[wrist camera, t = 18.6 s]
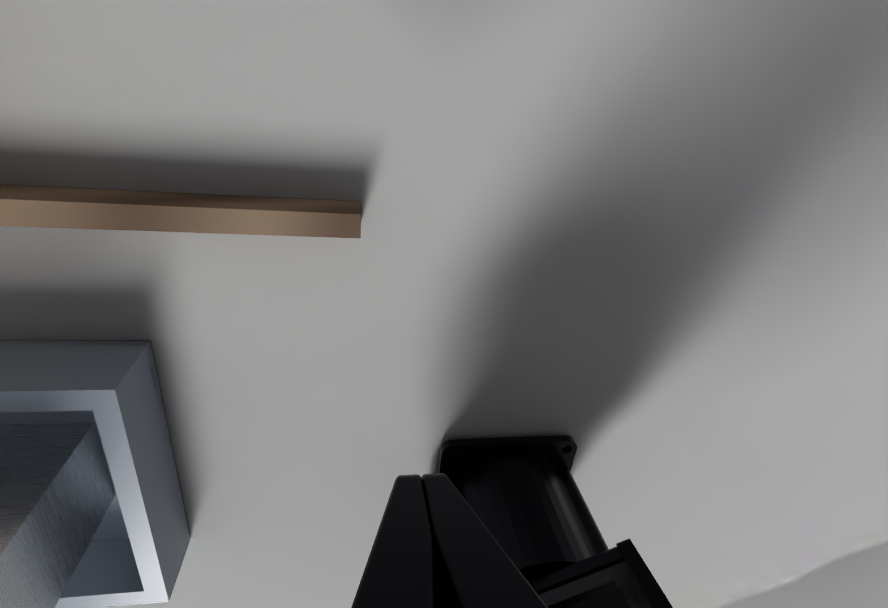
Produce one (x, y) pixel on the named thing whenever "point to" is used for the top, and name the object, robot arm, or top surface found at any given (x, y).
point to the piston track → (176, 212)
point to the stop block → (48, 507)
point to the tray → (109, 459)
